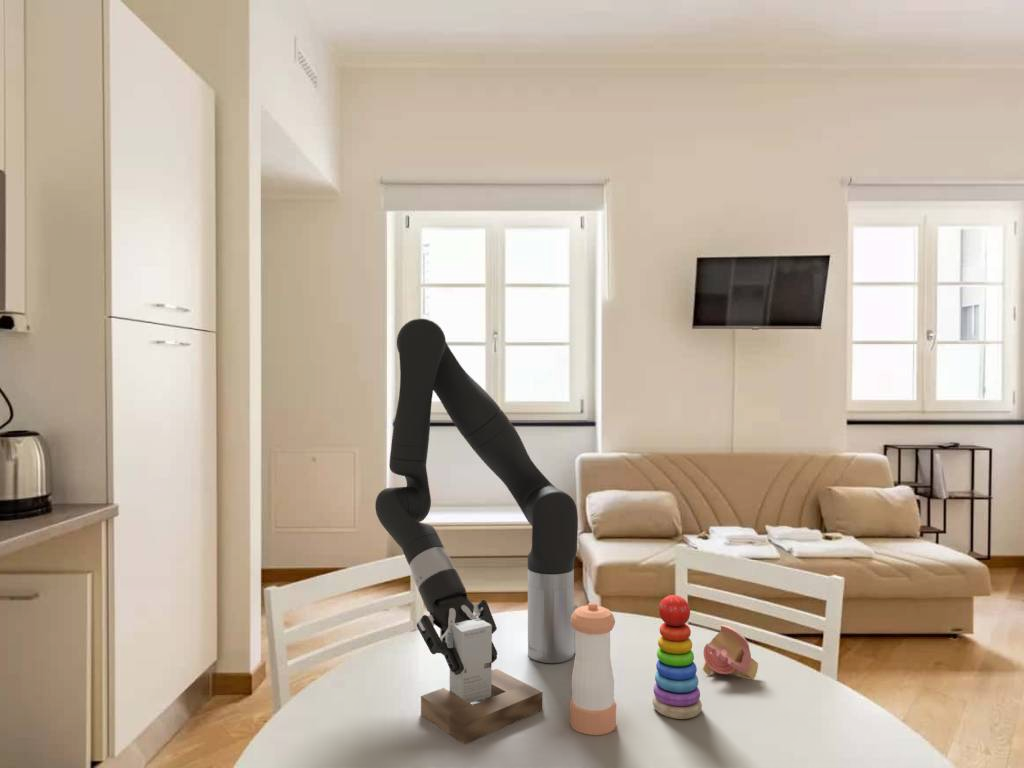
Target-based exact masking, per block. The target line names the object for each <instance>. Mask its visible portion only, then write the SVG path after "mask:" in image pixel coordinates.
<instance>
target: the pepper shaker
mask: <svg viewBox="0 0 1024 768" xmlns="http://www.w3.org/2000/svg"><path fill="white" fill-rule="evenodd" d="M570 620H571V623H572V626H573V628H574V629H575V630H576V652H575V654H574V656H575V657H574V662H573V668H572V676H571V690H572V693H571V695H572V696H571V698H570V701H569V723H570V726H571V728H573V730H575V731H576V732H578V733H581V734H585V735H589V736H602V735H607V734H609V733H612V732H613V731H614V730H615V729H616V727H617V703H616V700H615V698H614V694H615V692H614V691H615V678H614V672H613V666H612V660H611V631H612V630H613V628H614V627H615V625H616V624H615V623H616V620H615V617H614V615H613V613H612V611H611V610H610V609H609V608H606V607H604V606H601V605H598V604H597V602H589V603H588V604H586V605H582V606H579V607H577V609H575V611H574V612H573V614H572V615H571V619H570Z"/></svg>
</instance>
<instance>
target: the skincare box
mask: <svg viewBox="0 0 1024 768" xmlns="http://www.w3.org/2000/svg"><path fill="white" fill-rule="evenodd" d="M451 627H452V630H453V648H456V650H457V653H458V655H459V657H460V659H461V662H462V664H463V666H464V670H463V671H462V672H461V673H460V674H458V675H455V674H454V672H452V671H451V670H450V669H449V691H450V692H451V693H453V694H455V695H456V696H458V697H460V698H462V699H463V700H465V701H467V702H468V703H470V704H472V703H476V702H480V701H484V700H487V699H486V698H489V697H491V674H492V670H493V669H492V665H493V663H492V642H493V634H492V625H491V624H489V623H487V622H485V621H484V620H482V619H479V618H478V619H475V620H468V621H463V622H459V623H454V624H451Z"/></svg>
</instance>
